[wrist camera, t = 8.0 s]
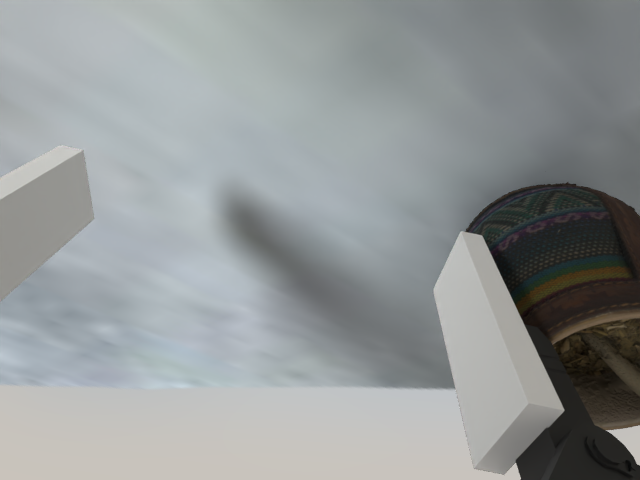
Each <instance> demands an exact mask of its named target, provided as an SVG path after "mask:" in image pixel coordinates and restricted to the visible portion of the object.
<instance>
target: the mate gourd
mask: <svg viewBox="0 0 640 480" xmlns="http://www.w3.org/2000/svg"><path fill="white" fill-rule="evenodd" d="M545 172H546V171H545ZM465 232H468V233H473V234H477V235H482V236H483V238H484V240H485V243H486V245H487V247H488V249H489V251H490V253H491V255H492V257H493V260H494V262H495V264H496V266H497V268H498V270H499V272H500V274H501V276H502V279H503V281H504V283H505V285H506V287H507V289H508V291H509V293H510V296H511V298H512V300H513V302H514V304H515V306H516V308H517V310H518V313H519V315H520V317H521V319H522V321H523V323H524V324H525V325H530V326H534V327H537V328H538V329H539V330H540V331H541V332H542V333H543V334H544V335H545V336H546V337H547V338H548V339H549V340H550V342H551V343H552V345H553V347H554V349H555V350H556V352H557V354H558V356H559V358H560V359H559V361H561V362H562V364H563V366H564V368H565V370H566V371H567V372H566V375H569V377H570V379H571V381H572V383H573V385H574V387H575V389H576V390H577V392H578V394H579V396H580V398H581V400H582V402H583V404H584V406H585V408H586V410H587V411H588V413H589V415H590V417H591V419H592V421H593V423H594V425H595V426H599V427H600V428H602V429H604V430H614V429H622V428H628V427H633V426H638V425H640V216H639V215H638V214H637V213H636V212H635V209H634V208H632V207H631V206H628V205H627V204H625V203H624V202H623V201H620V200H618V199H617V198H614V197H611V196H609V195H607V194H606V193H604V192H601V191H597V190H594V189H591V188H588V187H583V186H581V187H580V186H576V184H568V182H567V183H566V184H564V183H562V184H557V183H556V184H553V185H551V184H547V185H545V184H544V185H536V186H530V187H525V188H521V189H519V190H514V191H512V192H509V193H508V194H506V195H504V196H502V197H501V198H499V199H497V200H496V201H494V202H493V203H491V204H489V206H487V207H486V208H485V209H483V211H482V212H480V213H479V215H478V216H477V217H476V218H475V219H474V221H473V222H472V223H471V224H470V225H469V227H468V228H467V230H466V231H465Z"/></svg>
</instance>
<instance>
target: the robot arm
mask: <svg viewBox="0 0 640 480" xmlns="http://www.w3.org/2000/svg"><path fill="white" fill-rule="evenodd" d="M93 220H94V213H93V207H92V201H91V195H90V188H89V182H88V176H87V170H86V163H85V157H84V151H83V150H81V149H76V148H72V147H67V146H62V145H60V146H58V147H56V148H54V149H52V150H51V151H49V152H47V153H45V154H43V155H41V156H39V157H38V158H36V159H34V160H32V161H30V162H28V163H26V164H25V165H23V166H21V167H19V168H17V169H15V170H13V171H11V172H10V173H8V174H6V175H4V176H2V177H0V301H2V300H3V299H4V298H5V297H6V296H7V295H8V294H10V293H11V292H12V291H13V290H14V289H15V288H16V287H18V286H19V285H20V284H21V283H22V282H23V281H24V280H25V279H27V278H28V277H29V276H30V275H31V274H32V273H33V272H35V271H36V270H37V269H38V268H39V267H40V266H41V265H43V264H44V263H45V262H46V261H47V260H48V259H49V258H51V257H52V256H53V255H54V254H55V253H56V252H57V251H58V250H60V249H61V248H62V247H63V246H64V245H65V244H66V243H68V242H69V241H70V240H71V239H72V238H73V237H74V236H76V235H77V234H78V233H79V232H80V231H81V230H82V229H84V228H85V227H86V226H87V225H88V224H89V223H90V222H91V221H93ZM433 292H434V297H435V301H436V305H437V310H438V314H439V319H440V323H441V327H442V332H443V336H444V341H445V345H446V349H447V354H448V358H449V362H450V367H451V371H452V376H453V380H454V384H455V389H456V393H457V398H458V402H459V406H460V411H461V415H462V419H463V424H464V428H465V432H466V437H467V441H468V446H469V450H470V455H471V458H472V463H473V467H474V469H478V470H483V471H488V472H493V473H499V474H505V473H506V472H507V471H508V470H509V469H510V468H511V467H512V466H513V465H514V464H515V463H517V466H518V470H519V473H520V476H521V480H640V466H639V465H637V464H636V462H635V459H634V457H633V456H632V455H631V453H630V452H629V451H628V450H627V448H626V447H625V446H624V445H623V444H622V443H621V442H620V441H619V440H618V439H617V438H615V437H614V436H613V435H612V434H610V433H609V432H607V431H605V430H604V429H602V428H600V427H599V426H595V425H594V423H593V421H592V419H591V417H590V415H589V413H588V411H587V410H586V408H585V406H584V404H583V402H582V400H581V398H580V396H579V394H578V392H577V390H576V389H575V387H574V385H573V383H572V381H571V379H570V377H569V375H566V372H567V371H566V370H565V368H564V366H563V364H562V362H561V361H559V359H560V358H559V356H558V354H557V352H556V350H555V349H554V347H553V345H552V343H551V342H550V340H549V339H548V338H547V337H546V336H545V335H544V334H543V333H542V332H541V331H540V330H539V329H538V328H537V327H534V326H530V325H525V324H524V323H523V321H522V319H521V317H520V315H519V313H518V310H517V308H516V306H515V304H514V302H513V300H512V298H511V296H510V293H509V291H508V289H507V287H506V285H505V283H504V281H503V279H502V276H501V274H500V272H499V270H498V268H497V266H496V264H495V262H494V260H493V257H492V255H491V253H490V251H489V249H488V247H487V245H486V243H485V240H484V238H483V236H482V235H477V234H473V233H468V232H463V231H461V232H460V234H459V236H458V238H457V240H456V242H455V244H454V246H453V248H452V251H451V253H450V255H449V257H448V259H447V261H446V263H445V265H444V268H443V270H442V272H441V274H440V276H439V278H438V280H437V282H436V284H435V287H434V289H433Z"/></svg>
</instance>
